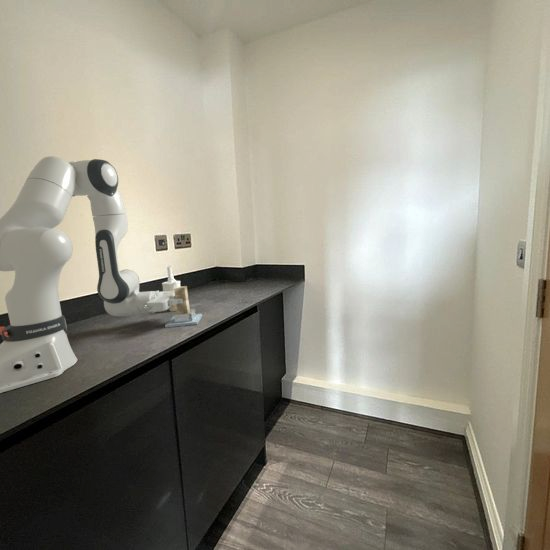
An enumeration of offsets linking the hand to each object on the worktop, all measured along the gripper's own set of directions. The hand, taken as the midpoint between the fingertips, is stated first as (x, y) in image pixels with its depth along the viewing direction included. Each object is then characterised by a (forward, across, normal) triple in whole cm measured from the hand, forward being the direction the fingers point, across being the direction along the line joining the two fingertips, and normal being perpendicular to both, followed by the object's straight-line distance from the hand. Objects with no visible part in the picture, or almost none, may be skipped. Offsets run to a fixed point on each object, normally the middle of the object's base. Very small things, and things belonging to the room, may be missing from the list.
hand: (184, 299), depth 117 cm
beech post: (-1, 0, +6) cm, 6 cm away
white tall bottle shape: (-14, +36, +10) cm, 40 cm away
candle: (-10, +22, +10) cm, 26 cm away
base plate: (-1, 0, +9) cm, 9 cm away
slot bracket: (0, 0, +8) cm, 8 cm away
